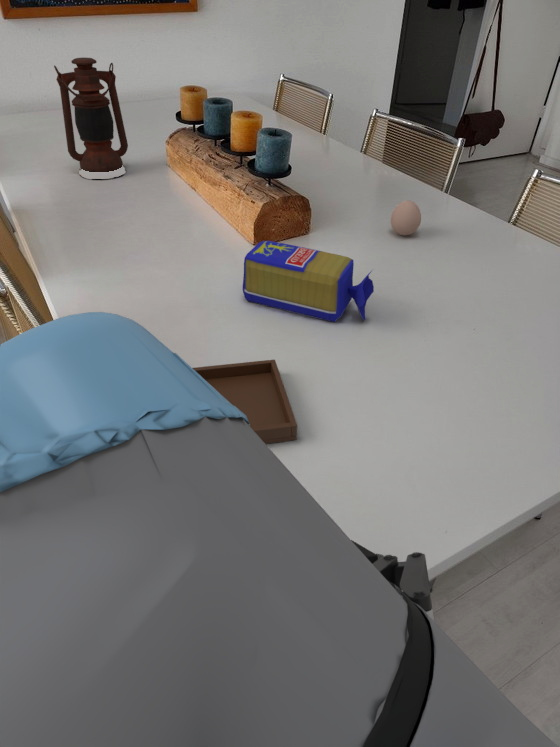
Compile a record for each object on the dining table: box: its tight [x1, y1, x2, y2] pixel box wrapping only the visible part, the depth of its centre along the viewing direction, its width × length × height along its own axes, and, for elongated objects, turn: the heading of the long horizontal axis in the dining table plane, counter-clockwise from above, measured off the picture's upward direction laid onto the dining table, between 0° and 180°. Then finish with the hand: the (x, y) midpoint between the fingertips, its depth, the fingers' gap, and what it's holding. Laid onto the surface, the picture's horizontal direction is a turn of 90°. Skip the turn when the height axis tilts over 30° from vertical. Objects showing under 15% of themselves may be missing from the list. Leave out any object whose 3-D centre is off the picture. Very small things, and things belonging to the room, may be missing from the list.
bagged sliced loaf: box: [242, 240, 375, 323], centre depth 103 cm, size 10×25×10 cm, turn 67°
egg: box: [390, 200, 422, 237], centre depth 131 cm, size 7×7×8 cm
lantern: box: [53, 57, 129, 180], centre depth 155 cm, size 17×14×30 cm
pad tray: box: [192, 359, 298, 445], centre depth 80 cm, size 16×16×3 cm
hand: (267, 571), depth 44 cm, fingers open, 13 cm apart
